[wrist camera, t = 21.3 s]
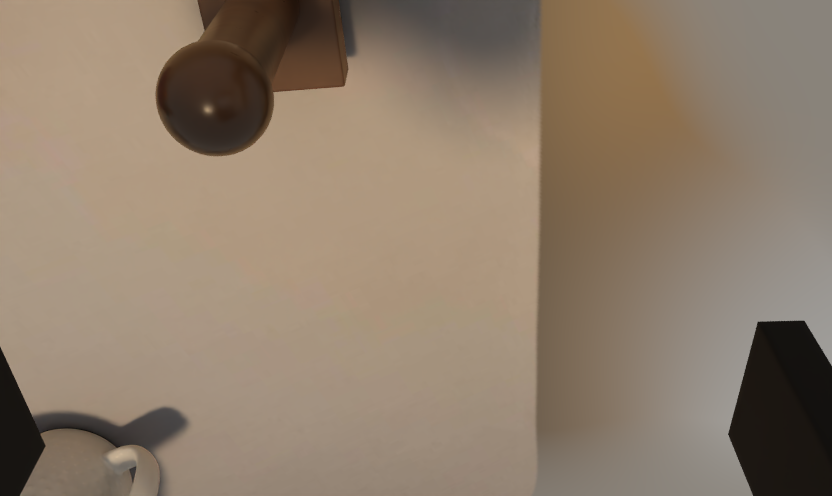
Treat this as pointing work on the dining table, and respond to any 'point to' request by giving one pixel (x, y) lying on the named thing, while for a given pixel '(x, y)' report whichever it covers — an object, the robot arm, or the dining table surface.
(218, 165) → the dining table surface
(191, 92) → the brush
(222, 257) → the dining table surface
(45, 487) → the mug
